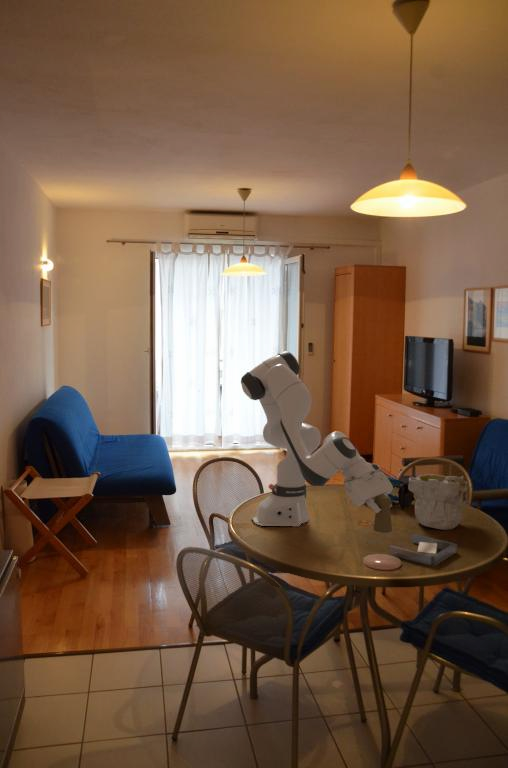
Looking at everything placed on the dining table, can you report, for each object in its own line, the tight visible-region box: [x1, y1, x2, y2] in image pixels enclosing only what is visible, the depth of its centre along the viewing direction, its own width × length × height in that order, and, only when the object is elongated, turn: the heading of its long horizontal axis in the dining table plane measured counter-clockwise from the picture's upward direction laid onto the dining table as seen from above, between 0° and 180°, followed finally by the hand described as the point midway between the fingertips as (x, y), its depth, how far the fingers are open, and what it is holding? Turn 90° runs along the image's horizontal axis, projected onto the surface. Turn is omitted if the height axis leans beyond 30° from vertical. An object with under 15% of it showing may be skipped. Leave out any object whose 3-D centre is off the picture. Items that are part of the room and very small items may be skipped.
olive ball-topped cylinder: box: [372, 495, 393, 534], centre depth 210 cm, size 6×6×11 cm
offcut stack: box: [416, 542, 438, 556], centre depth 218 cm, size 6×11×3 cm, turn 162°
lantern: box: [374, 474, 416, 511], centre depth 279 cm, size 16×16×25 cm
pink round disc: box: [362, 553, 402, 571], centre depth 211 cm, size 12×12×1 cm
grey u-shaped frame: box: [388, 533, 458, 568], centre depth 220 cm, size 16×17×3 cm
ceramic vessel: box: [408, 473, 469, 531], centre depth 252 cm, size 23×24×25 cm
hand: (384, 509), depth 209 cm, fingers closed on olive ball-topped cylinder, 5 cm apart
